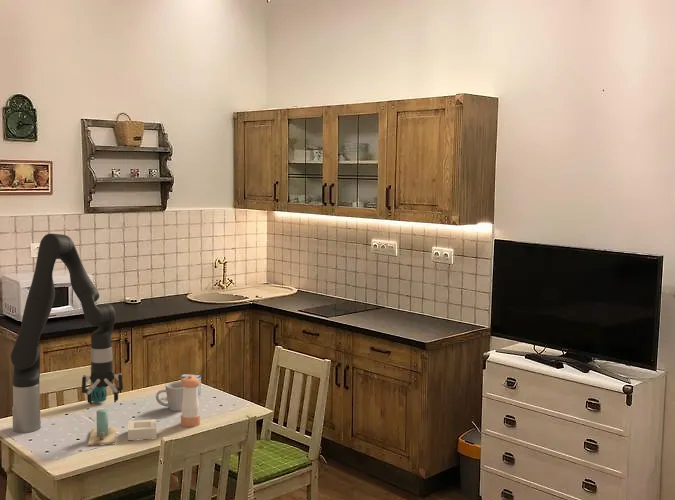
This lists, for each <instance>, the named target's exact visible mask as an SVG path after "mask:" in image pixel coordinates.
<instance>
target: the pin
mask: <svg viewBox="0 0 675 500" xmlns="http://www.w3.org/2000/svg"><path fill="white" fill-rule="evenodd" d="M96 428H97V436H98V437H100V432H104V437H105V436H108V428H109V410H108V409H98V410H96Z"/></svg>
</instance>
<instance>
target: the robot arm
mask: <svg viewBox="0 0 675 500" xmlns="http://www.w3.org/2000/svg"><path fill="white" fill-rule="evenodd" d="M57 260H61V261H62V262H63V264H64V266H66V268H67V270H68V273H69V279H70V281H69V282H70V285H71V288H72V290H73V292H74V294H75V295H76V297H77V299H78V300H79V302H80V305H81V308H82V312H83V316H84V319H85V321H86V323H88V324H89V325H91V326H93V327H95V326H98V328H97V329H95V330H94V331H92V333H91V335H90V345H91V346H90V349H91V350H90V375H86V374H84V375H82V377H81V380H82V381H81V393H82V394H86V395H87V397H86V398H87V403H88V404H89V405H92V404H93V402H92V393H91V392H92V391H93V390H94V388H95V387H106V388H107V387H109V389H111V390H113V403H117V401H119V392H121V391H123V389H124V384H123V383H124V382H123V373H122V372H119V373H117V374H114V363H113V362H114V359H113V355H114V354H113V347H112V346H113V345H112V334H113V331H114V325H115V323H116V315H117V314H116V310H115V307H114V306H113V305H112V304H110V303H103V304H98V305H97V304H96V302H97V301H98V300H99V298H100V293H99V291H98V289H97V288H96V287H95V285H94V283H93V281H92V280H91V278H90V276H89V275H88V273H87V271H86V269H85V267H84V264H83V262H82V260H81V258H80V255H79V253H78V250H77V247H76V245H75V243H74V241H73V240H72V238H71V237H70V236H68V235H65V234H59V233H47V234H45V235H44V236H43V237H42V238H41V240H40V243H39V246H38V251H37V257H36V262H35V263H36V264H35V267H34V272H33V276H32V280H31V284H30V288H29V291H28V294H27V296H26V297H27V298H26V301H25V305H24V309H23V314H22V319H21V325H20V329H19V332H18V336H17V338H16V341H15V343H14V346H13V348H12V351H11V352H10V361H11V363H12V365H13V374H12V375H13V376H12V394H13V395H12V396H13V397H12V402H13V405H12V407H11V409H12V410H11V411H12V432H13V433H14V432H15V433H31V432H35V431H37V430H39V429H41V427H42V426H41V423H42V422H41V391H40V388H41V387H40V377H41V376H40V375H41V351H40V347H39V343H40V338H41V335H42V332H43V330H44V328H45V326H46V324H47V322H48V319H49V317H50V314H51V312H52V308H53V304H54V301H55V298H56V288H55V283H54V280H53V272H54V267H55V264H56V261H57ZM114 379H116V380H117V381H118V387H117V385H116V384H115V383H114V382H113V381H114ZM89 381H90V382H91V381H92V382H93V383H92V385H91V384H90V387H89V388H87V383H88V382H89Z"/></svg>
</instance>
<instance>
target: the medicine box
mask: <svg viewBox="0 0 675 500" xmlns="http://www.w3.org/2000/svg"><path fill="white" fill-rule="evenodd" d="M190 375H191V376H192V377H196V378H198V380H199V382H200V383H199V385H198V397H199V396H200V395H201V393H202V375H200V374H188V373H184V374H182V375H180V381H182V380H183V379H184V378H186V377H188V376H190Z"/></svg>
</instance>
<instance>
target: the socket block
mask: <svg viewBox="0 0 675 500" xmlns="http://www.w3.org/2000/svg"><path fill="white" fill-rule="evenodd" d="M127 422H128V425H127V426H128V427H127V441H128V440H134V441H138V440H137V439H149V440H153V439H152V438H156V439H157V419H156V418H155V419H153V418H152V419H141V420H140V419H138V420H129V421H127Z"/></svg>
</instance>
